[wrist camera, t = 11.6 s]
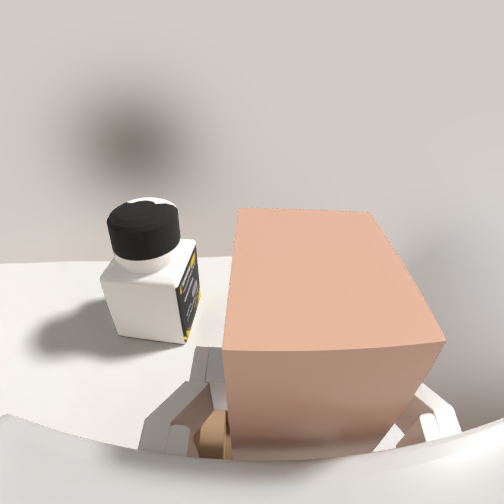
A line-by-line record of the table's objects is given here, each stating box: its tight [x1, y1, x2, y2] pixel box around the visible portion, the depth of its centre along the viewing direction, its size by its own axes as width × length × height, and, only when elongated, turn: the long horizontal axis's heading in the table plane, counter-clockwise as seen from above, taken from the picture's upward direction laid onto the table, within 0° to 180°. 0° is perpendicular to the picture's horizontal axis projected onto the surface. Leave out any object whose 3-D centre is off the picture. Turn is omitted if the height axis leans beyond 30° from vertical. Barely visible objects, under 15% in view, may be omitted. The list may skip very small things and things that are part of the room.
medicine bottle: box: [100, 197, 201, 344], centre depth 28 cm, size 7×7×12 cm
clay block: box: [222, 208, 447, 461], centre depth 11 cm, size 6×4×12 cm
